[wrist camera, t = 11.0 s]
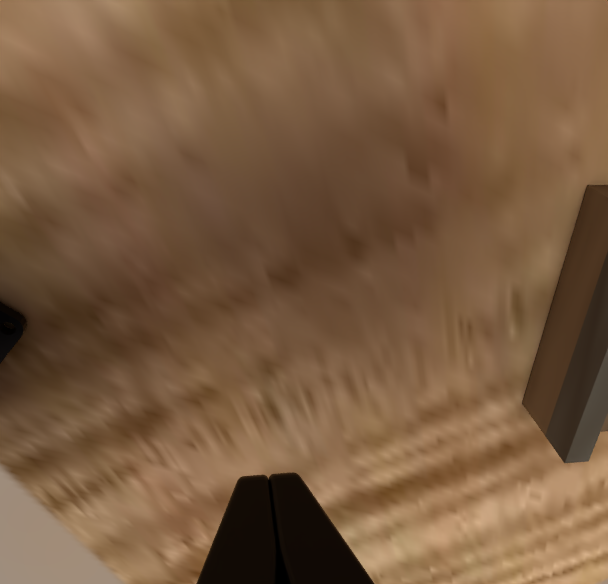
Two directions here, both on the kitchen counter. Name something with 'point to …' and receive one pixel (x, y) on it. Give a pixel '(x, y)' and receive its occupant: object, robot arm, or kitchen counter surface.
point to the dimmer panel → (576, 341)
